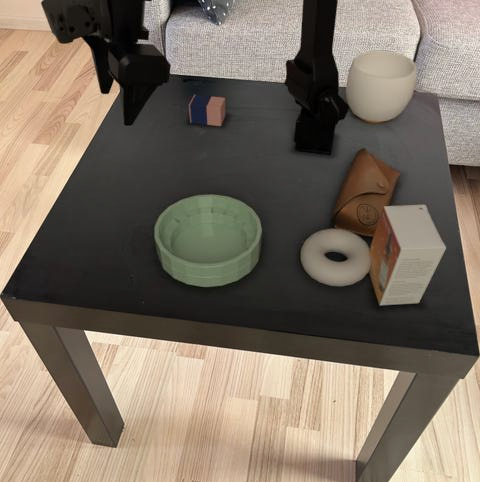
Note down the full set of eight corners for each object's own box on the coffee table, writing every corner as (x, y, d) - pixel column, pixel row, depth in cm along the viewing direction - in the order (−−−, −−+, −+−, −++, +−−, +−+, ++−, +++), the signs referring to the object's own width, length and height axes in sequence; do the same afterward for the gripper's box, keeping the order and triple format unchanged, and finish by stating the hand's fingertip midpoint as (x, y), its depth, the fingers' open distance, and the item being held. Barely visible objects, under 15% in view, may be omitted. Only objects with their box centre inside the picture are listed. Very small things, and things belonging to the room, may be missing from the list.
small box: (364, 263, 68) (382, 204, 60) (402, 261, 68) (425, 202, 60) (378, 307, 63) (400, 249, 55) (419, 304, 63) (447, 247, 55)
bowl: (268, 225, 73) (269, 201, 70) (249, 297, 64) (250, 274, 61) (175, 212, 75) (172, 188, 71) (145, 280, 66) (139, 257, 63)
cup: (411, 133, 89) (427, 81, 81) (345, 132, 89) (355, 80, 81) (398, 99, 96) (412, 48, 89) (337, 99, 97) (345, 48, 89)
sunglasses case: (386, 238, 71) (371, 202, 67) (341, 246, 75) (325, 213, 71) (403, 170, 81) (391, 135, 77) (363, 180, 85) (350, 148, 81)
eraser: (225, 115, 93) (225, 97, 90) (220, 126, 90) (220, 108, 87) (195, 112, 93) (194, 93, 90) (190, 123, 91) (188, 104, 88)
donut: (366, 298, 65) (371, 246, 70) (372, 281, 62) (377, 229, 68) (293, 284, 66) (304, 235, 72) (295, 267, 63) (307, 218, 69)
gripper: (25, -64, 55) (35, 77, 66) (72, -11, 45) (75, 145, 56) (119, -49, 60) (114, 79, 71) (180, 2, 50) (163, 142, 61)
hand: (115, 108), depth 64 cm, fingers open, 9 cm apart
